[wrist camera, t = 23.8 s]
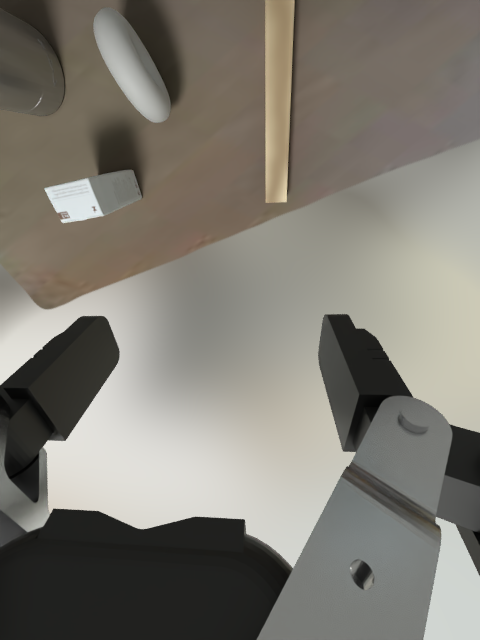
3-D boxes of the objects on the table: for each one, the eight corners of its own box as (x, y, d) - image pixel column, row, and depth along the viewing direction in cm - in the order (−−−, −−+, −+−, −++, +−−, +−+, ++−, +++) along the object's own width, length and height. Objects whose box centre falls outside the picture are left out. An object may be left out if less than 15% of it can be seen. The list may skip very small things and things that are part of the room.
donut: (184, 117, 35) (161, 106, 27) (164, 131, 36) (135, 125, 28) (137, 22, 31) (91, -27, 22) (115, 42, 32) (63, 3, 23)
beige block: (265, 199, 40) (265, 202, 38) (265, -19, 29) (265, -36, 26) (284, 198, 40) (286, 201, 38) (292, -22, 28) (296, -39, 26)
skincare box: (133, 167, 39) (88, 173, 29) (144, 200, 41) (106, 215, 31) (96, 175, 40) (40, 184, 30) (109, 207, 42) (61, 224, 32)
